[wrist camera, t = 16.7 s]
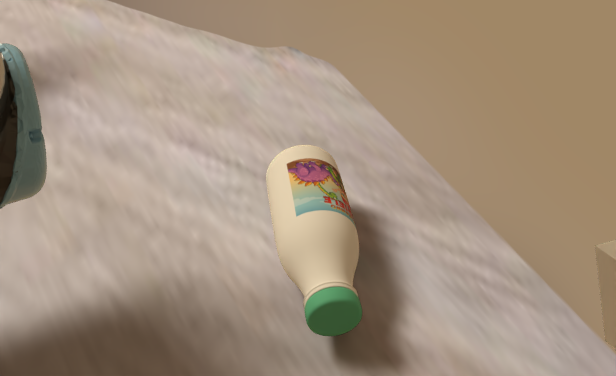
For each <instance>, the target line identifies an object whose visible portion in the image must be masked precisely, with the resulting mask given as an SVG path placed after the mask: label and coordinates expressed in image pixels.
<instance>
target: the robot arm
mask: <svg viewBox="0 0 616 376" xmlns="http://www.w3.org/2000/svg"><path fill="white" fill-rule="evenodd" d="M41 130H42V126H41V115H40V110H39V105H38V101H37V96H36V92H35V88H34V84H33V81H32V78H31V74H30V71H29V68H28V65H27V63H26V60H25V58H24V56H23V54H22V52H21V51H20V50H19V49H18V48H17V47H15V46H13V45H10V44H1V43H0V209H1V208H2V207H4V206H5V205H7V204H10V203H13V202H17V201H20V200H23V199H27V198H30V197H32V196H34V195H35V194H37V193H38V192H39V191H40V190H41V188H42V187H43V185H44V182H45V179H46V171H47V162H46V149H45V141H44V137H43V134H42V132H41ZM595 251H596V261H597V269H598V279H599V289H600V298H601V307H602V315H603V325H604V335H605V341H606V342H607V343H608V344H609V345H610V346H611V347H612V348H613V349H615V350H616V240H613V241H610V242H606V243H602V244H599V245H595Z"/></svg>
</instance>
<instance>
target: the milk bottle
mask: <svg viewBox="0 0 616 376" xmlns="http://www.w3.org/2000/svg"><path fill="white" fill-rule="evenodd" d="M266 182H267V190H268V197H269V204H270V211H271V217H272V224H273V230H274V236H275V242H276V247H277V252H278V256H279V259H280V262H281V264H282V266H283V268H284V270H285V272H286V273H287V275H288V276H289V277H290V279H291V280H292V281H293V282H294V283H295V284H296V285H297V286H298V288H299V289H300V290H301V292H302V293H303V295H304V297H305V298H304V302H303V306H304V309H305V317H306V321H307V324H308V326H309V328H310V329H311V330H312V331H313V332H314V333H316V334H319V335H323V336H337V335H341V334H344V333H346V332H348V331H350V330H352V329H353V328H354V327H356V326H357V325H358V323H359V322H360V320H361V317H362V308H361V304H360V301H359V298H358V293H357V291H356V289H355V288H354V287H353V278H354V273H355V270H356V267H357V263H358V258H359V240H358V234H357V230H356V226H355V222H354V219H353V215H352V212H351V209H350V205H349V202H348V199H347V196H346V192H345V189H344V186H343V183H342V180H341V176H340V173H339V170H338V167H337V165H336V162H335V160H334V159H333V157H332V156H331V155H330V154H329V153H327V152H326V151H324V150H323V149H321V148H319V147H316V146H311V145H298V146H293V147H291V148H288V149H286V150H284V151H282V152H281V153H280V154H278V155H277V156H276V157H275V158H274V159H273V161H272V162H271V164H270V165H269V167H268V170H267V174H266Z"/></svg>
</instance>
